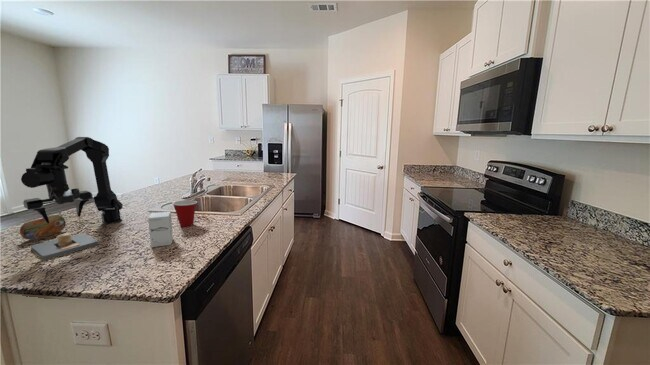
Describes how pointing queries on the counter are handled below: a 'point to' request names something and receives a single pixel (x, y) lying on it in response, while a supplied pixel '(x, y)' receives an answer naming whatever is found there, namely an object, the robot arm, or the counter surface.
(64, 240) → the peg
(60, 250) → the hole plate
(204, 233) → the counter surface
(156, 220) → the supplement box
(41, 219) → the tin
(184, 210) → the plastic cup
